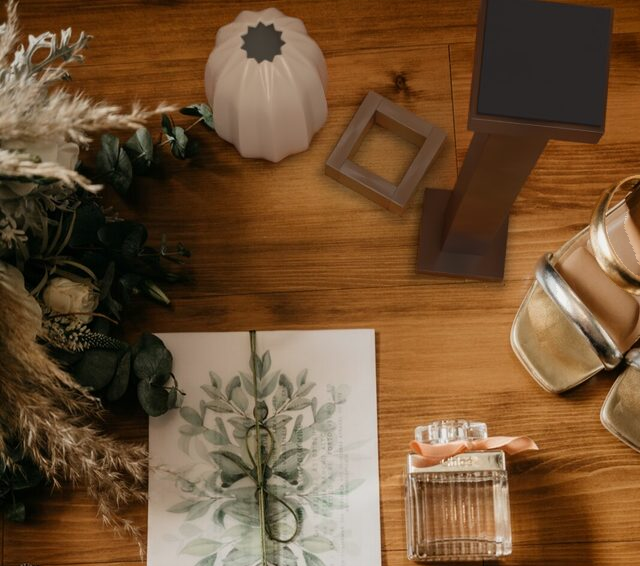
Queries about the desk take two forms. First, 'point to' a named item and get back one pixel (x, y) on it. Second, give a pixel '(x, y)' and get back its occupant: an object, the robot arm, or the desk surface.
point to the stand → (400, 124)
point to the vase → (266, 85)
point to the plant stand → (489, 182)
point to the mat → (544, 62)
